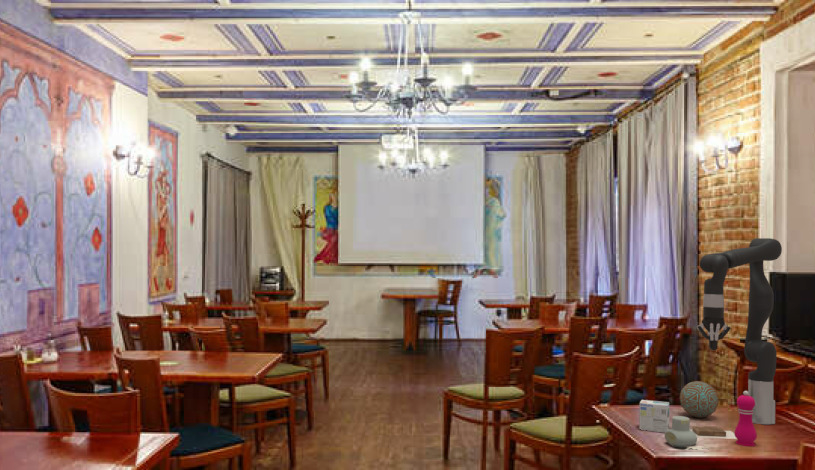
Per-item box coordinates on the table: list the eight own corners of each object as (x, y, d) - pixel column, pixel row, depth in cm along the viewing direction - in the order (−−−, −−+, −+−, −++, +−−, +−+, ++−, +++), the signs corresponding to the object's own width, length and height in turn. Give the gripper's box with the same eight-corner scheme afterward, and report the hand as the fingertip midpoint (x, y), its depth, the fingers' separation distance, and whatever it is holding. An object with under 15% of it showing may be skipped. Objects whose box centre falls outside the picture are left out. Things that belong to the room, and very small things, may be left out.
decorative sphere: (684, 420, 296) (685, 383, 297) (675, 412, 311) (676, 377, 312) (722, 422, 295) (723, 385, 295) (711, 413, 310) (712, 378, 310)
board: (730, 434, 276) (730, 430, 276) (742, 442, 264) (742, 439, 264) (676, 431, 278) (676, 428, 278) (685, 440, 266) (685, 436, 266)
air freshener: (700, 449, 254) (700, 420, 254) (680, 450, 252) (680, 422, 252) (680, 441, 265) (680, 413, 265) (661, 442, 262) (661, 414, 262)
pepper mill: (730, 444, 261) (730, 388, 261) (749, 444, 262) (750, 388, 262) (741, 450, 254) (741, 392, 254) (760, 449, 254) (761, 392, 255)
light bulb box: (669, 429, 281) (669, 401, 281) (667, 433, 275) (668, 405, 275) (640, 426, 286) (641, 399, 286) (638, 430, 280) (639, 402, 280)
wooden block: (719, 427, 274) (692, 426, 275) (726, 432, 267) (698, 430, 268) (719, 432, 274) (692, 430, 275) (726, 436, 267) (698, 435, 268)
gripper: (727, 305, 286) (727, 349, 286) (693, 304, 287) (692, 348, 287) (734, 306, 279) (734, 352, 278) (698, 306, 280) (698, 350, 280)
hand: (713, 350), depth 283 cm, fingers closed
